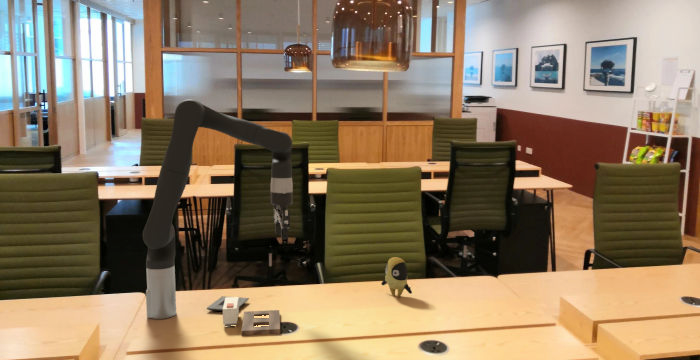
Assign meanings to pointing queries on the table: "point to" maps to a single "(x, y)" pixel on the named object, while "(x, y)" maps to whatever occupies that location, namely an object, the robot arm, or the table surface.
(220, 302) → the electrical outlet
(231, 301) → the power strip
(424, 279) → the table surface
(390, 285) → the figurine
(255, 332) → the brown wooden slotted board
